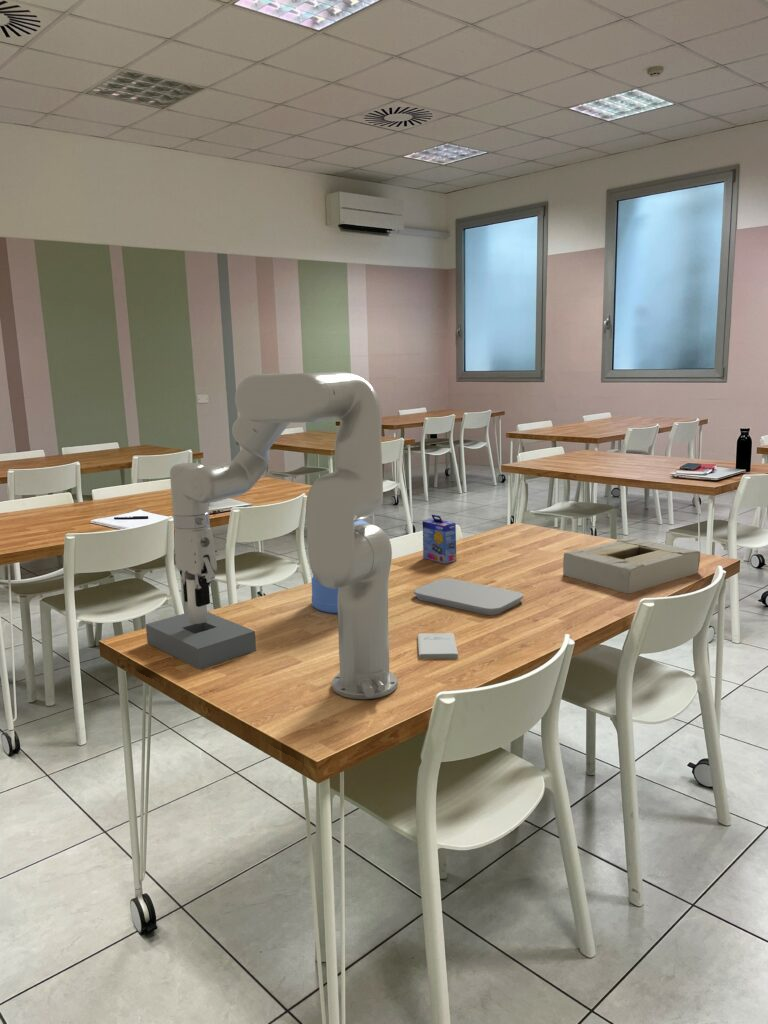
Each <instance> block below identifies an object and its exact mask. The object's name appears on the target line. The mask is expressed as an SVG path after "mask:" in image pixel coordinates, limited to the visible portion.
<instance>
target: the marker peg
mask: <svg viewBox="0 0 768 1024" xmlns="http://www.w3.org/2000/svg"><path fill="white" fill-rule="evenodd" d="M201 573H204V570H203V571H201ZM185 577H186V584H187V598H188V602H187V609H188V610H187V611H188V612H189V622H190V623H192V624H200V623H204V622H207V621H208V615H207V612H208V604H207V605H204V606H200V607H197V606H196V599H195V589H196V588H197V587H196V581H195V575H193V574H191V573H188V571H187V570H186V571H185ZM202 578H204V576H202V577H200V581H201V580H202ZM188 612H187V613H188Z"/></svg>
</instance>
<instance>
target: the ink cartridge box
mask: <svg viewBox="0 0 768 1024" xmlns="http://www.w3.org/2000/svg"><path fill="white" fill-rule="evenodd" d="M431 517H432V518H430V519H426V520H422V557H423V559H425V560H430V561H432V562H436V563H441V564H442V565H443V564H445V565H446V564H450V563H452V562H457V528H456V526H457V525H456V522H454V521H449V520H443V519H442V517H441V515H436V514H431Z"/></svg>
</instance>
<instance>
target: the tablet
mask: <svg viewBox="0 0 768 1024" xmlns="http://www.w3.org/2000/svg"><path fill="white" fill-rule="evenodd" d="M413 594H414V595H415V596H416V599H417V600H420V601H425V602H429V603H433V604H438V605H442V606H447V607H450V608H451V607H452V608H454V609H460V610H464V611H469V612H473V613H477V614H481V615H487V616H495V615H499V614H501V613H503V612H505V611H507V610H509V609H511V608H513V607H515V606H517V605H518V604H520V603H521V601H522V599H523V598H524V593H522V592H520V591H516V590H512V589H507V588H506V589H505V588H503V587H502V588H501V587H495V586H491V585H486V584H480V583H475V582H471V581H466V580H460V579H457V578H456V579H455V578H450V577H449V578H439V579H436V580H434V581H431V582H429V583H426V584H424V585H421V586H419V587H416V588H415V589H414V590H413Z"/></svg>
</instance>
